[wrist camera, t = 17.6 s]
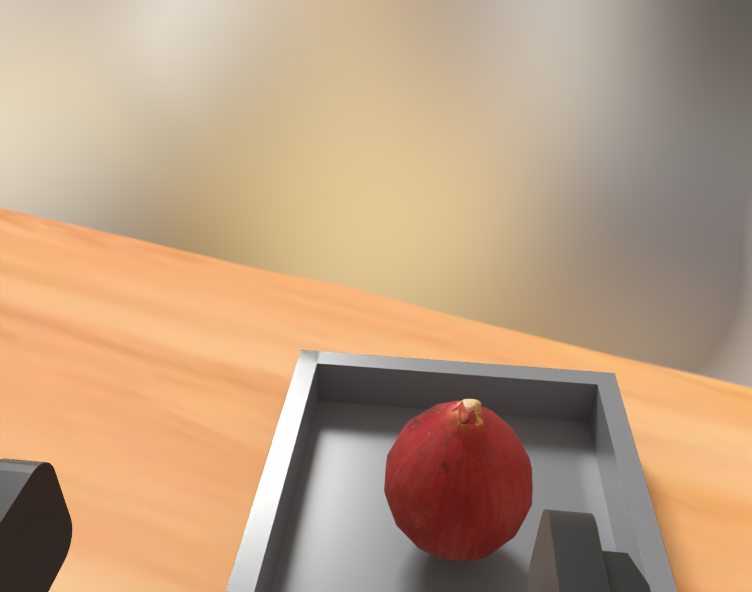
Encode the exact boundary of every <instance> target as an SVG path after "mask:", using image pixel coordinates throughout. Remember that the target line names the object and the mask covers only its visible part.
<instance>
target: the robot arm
mask: <svg viewBox="0 0 752 592" xmlns="http://www.w3.org/2000/svg"><path fill="white" fill-rule="evenodd" d="M71 538H72V521H71V518H70V515H69V512H68V509H67V506H66V503H65V500H64V497H63V494H62V491H61V488H60V485H59V482H58V479H57V476H56V473H55V470H54V468H53V466H52V465H51V464H50V463H47V462H37V461H26V460H15V459H1V460H0V592H48V591H49V589H50V587H51V585H52V583H53V582H54V580H55V578H56V576H57V574H58V572H59V570H60V568H61V566H62V564H63V562H64V560H65V558H66V556H67V553H68V551H69V547H70V543H71ZM527 592H651V590H650V586H649V584H648V582H647V581H646V579H645V578H644V577H643V575H642V574H641V572H640V571H639V569H638V568H637V566H636V565H635V563H634V562H633V560H632V559H631V557H630V556H629V554H628V553H622V552H611V551H602V547H601V542H600V537H599V532H598V527H597V523H596V520H595V517H594V516H593V514H591V513H581V512H570V511H559V510H548V509H545V510H544V511H543V513H542V516H541V520H540V524H539V528H538V532H537V536H536V540H535V545H534V549H533V553H532V557H531V561H530V565H529V571H528V582H527Z"/></svg>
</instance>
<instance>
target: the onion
mask: <svg viewBox="0 0 752 592" xmlns="http://www.w3.org/2000/svg"><path fill="white" fill-rule="evenodd" d="M384 493H385V496H386V499H387V502H388V505H389V507H390V510H391V513H392V515H393V518H394V520H395V523H396V526H397V527H398V528H399V529H400V530H401V531H402V532H403V533H404V534H405V535H406V536H407V537H408V538H409V539H410V540H411V541H412V542H413V543H414V544H415V545H416V546H417V547H418V548H419V549H421V550H423V551H425V552H427V553H429V554H431V555H433V556H435V557H437V558H439V559H446V560H454V561H462V562H465V561H470V560H475V559H480V558H485V557H488V556H489V555H490V554H492V553H493V552H495V551H496V550H497V549H499V548H500V547H501V546H503V545H504V544H506V543H507V542H508V541H510V540H511V539H513V538H514V537H515V536H516V534H517V532H518V531H519V529H520V527H521V525H522V523H523V522H524V520H525V518H526V516H527V514H528V512H529V510H530V508H531V506H532V494H533V483H532V467H531V463H530V458H529V456H528V454H527V452H526V450H525V449H524V447H523V445H522V443H521V442H520V440H519V438H518V436H517V434H516V433H515V431H514V430H513V429H512V428H511V427H510V426H509V425H508V424H507V423H506V422H505V421H504V420H503V419H501V418H500V417H499V416H498V415H497V414H495V413H494V412H493V411H491V410H489V409H487V408H485V407H482V406H481V402H480V401H478V400H476V399H463V400H462V401H460V400H458V401H452V402H446V403H441V404H437V405H435V406H433V407H432V408H430V409H428V410H426V411H425V412H423V413H421V414H420V415H418V416H416V417H414V418H412V419H411V420H410V421H409V422H408V423H407V424H406V425H405V426H404V428H403V430H402V431H401V433H400V435H399V436H398V438H397V439H396V441H395V443H394V444H393V446H392V448H391V449H390V451H389V453H388V454H387V461H386V470H385V485H384Z"/></svg>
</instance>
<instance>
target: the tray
mask: <svg viewBox="0 0 752 592" xmlns="http://www.w3.org/2000/svg"><path fill="white" fill-rule="evenodd" d="M463 399H476V400H478V401H480V402H481V406H482V407H485V408H487V409H489V410H491V411H493V412H494V413H495V414H497V415H498V416H499V417H500V418H501V419H503V420H504V421H505V422H506V423H507V424H508V425H509V426H510V427H511V428H512V429H513V430H514V431H515V433H516V434H517V436H518V438H519V440H520V442H521V443H522V445H523V447H524V449H525V450H526V452H527V454H528V456H529V458H530V463H531V467H532V483H533V494H532V506H531V508H530V510H529V512H528V514H527V516H526V518H525V520H524V522H523V523H522V525H521V527H520V529H519V531H518V532H517V534H516V536H515V537H514V538H513V539H511V540H510V541H508V542H507V543H506V544H504V545H503V546H501V547H500V548H499V549H497V550H496V551H495V552H493V553H492V554H490V555H489V556H488V557H485V558H480V559H475V560H470V561H465V562H462V561H454V560H446V559H439V558H437V557H435V556H433V555H431V554H429V553H427V552H425V551H423V550H421V549H419V548H418V547H417V546H416V545H415V544H414V543H413V542H412V541H411V540H410V539H409V538H408V537H407V536H406V535H405V534H404V533H403V532H402V531H401V530H400V529H399V528H398V527H397V526H396V523H395V520H394V518H393V515H392V513H391V510H390V507H389V505H388V502H387V499H386V496H385V493H384V485H385V470H386V461H387V454H388V453H389V451H390V449H391V448H392V446H393V444H394V443H395V441H396V439H397V438H398V436H399V435H400V433H401V431H402V430H403V428H404V426H405V425H406V424H407V423H408V422H409V421H410V420H411V419H412V418H414V417H416V416H418V415H420V414H421V413H423V412H425V411H426V410H428V409H430V408H432V407H433V406H435V405H437V404H441V403H446V402H452V401H458V400H460V401H462V400H463ZM545 509H548V510H559V511H570V512H581V513H591V514H593V516H594V517H595V520H596V523H597V527H598V532H599V537H600V542H601V547H602V551H611V552H622V553H628V554H629V556H630V557H631V559H632V560H633V562H634V563H635V565H636V566H637V568H638V569H639V571H640V572H641V574H642V575H643V577H644V578H645V579H646V581H647V582H648V584H649V586H650V590H651V592H677V588H676V585H675V581H674V578H673V574H672V571H671V567H670V564H669V561H668V557H667V554H666V550H665V547H664V543H663V540H662V536H661V533H660V529H659V526H658V522H657V519H656V515H655V512H654V508H653V505H652V501H651V498H650V494H649V491H648V487H647V484H646V481H645V477H644V474H643V470H642V467H641V463H640V460H639V456H638V453H637V449H636V446H635V442H634V439H633V435H632V432H631V428H630V425H629V421H628V418H627V414H626V411H625V408H624V404H623V401H622V397H621V394H620V390H619V387H618V383H617V380H616V376H615V373H606V372H593V371H579V370H565V369H552V368H538V367H525V366H511V365H498V364H484V363H471V362H457V361H444V360H430V359H417V358H403V357H389V356H376V355H362V354H349V353H335V352H322V351H308V350H301V352H300V355H299V358H298V362H297V365H296V368H295V371H294V374H293V378H292V381H291V384H290V387H289V390H288V394H287V397H286V400H285V403H284V406H283V410H282V413H281V416H280V419H279V422H278V426H277V429H276V432H275V435H274V438H273V442H272V445H271V448H270V451H269V455H268V458H267V461H266V464H265V467H264V471H263V474H262V477H261V480H260V483H259V487H258V490H257V493H256V496H255V499H254V503H253V506H252V509H251V512H250V515H249V519H248V522H247V525H246V528H245V531H244V535H243V538H242V541H241V544H240V547H239V551H238V554H237V557H236V560H235V563H234V567H233V570H232V573H231V576H230V579H229V583H228V586H227V589H226V592H527V582H528V571H529V565H530V561H531V557H532V553H533V549H534V545H535V540H536V536H537V532H538V528H539V524H540V520H541V516H542V513H543V511H544V510H545Z"/></svg>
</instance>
